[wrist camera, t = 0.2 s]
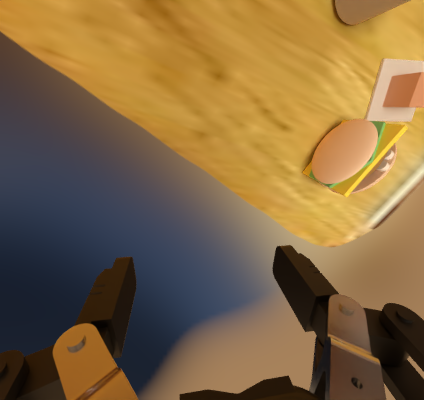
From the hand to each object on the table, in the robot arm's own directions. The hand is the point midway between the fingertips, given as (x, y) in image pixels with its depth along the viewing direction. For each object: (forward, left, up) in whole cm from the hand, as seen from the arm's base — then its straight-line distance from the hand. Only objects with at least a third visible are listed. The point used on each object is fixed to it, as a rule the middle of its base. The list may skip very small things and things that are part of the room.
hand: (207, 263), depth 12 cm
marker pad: (-11, +39, -29) cm, 50 cm away
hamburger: (0, +28, -30) cm, 41 cm away
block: (-11, +39, -29) cm, 50 cm away
